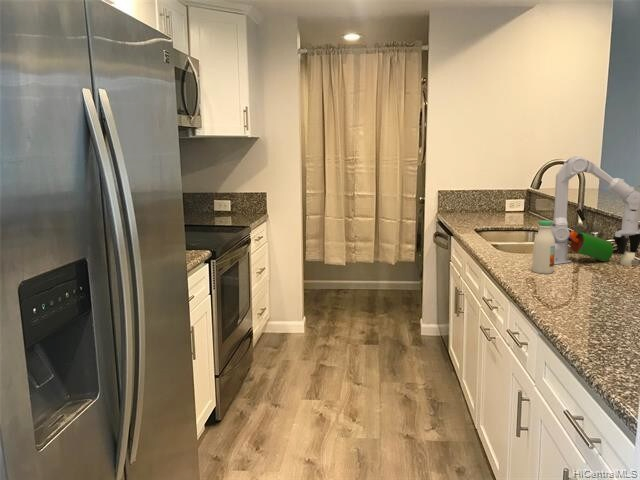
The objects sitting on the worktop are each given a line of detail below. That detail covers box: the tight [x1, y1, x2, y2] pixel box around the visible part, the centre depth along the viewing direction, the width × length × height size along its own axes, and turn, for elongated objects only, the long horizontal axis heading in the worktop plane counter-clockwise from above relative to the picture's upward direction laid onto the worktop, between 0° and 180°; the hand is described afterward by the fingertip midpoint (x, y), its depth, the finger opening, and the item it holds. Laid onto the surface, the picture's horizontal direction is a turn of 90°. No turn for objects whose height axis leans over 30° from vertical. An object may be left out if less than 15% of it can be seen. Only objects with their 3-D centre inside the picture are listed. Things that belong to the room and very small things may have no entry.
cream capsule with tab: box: [619, 250, 640, 267], centre depth 218 cm, size 5×7×5 cm
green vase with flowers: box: [567, 230, 614, 263], centre depth 224 cm, size 10×9×20 cm
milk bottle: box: [531, 219, 555, 275], centre depth 207 cm, size 8×8×20 cm
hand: (627, 253), depth 219 cm, fingers open, 7 cm apart
